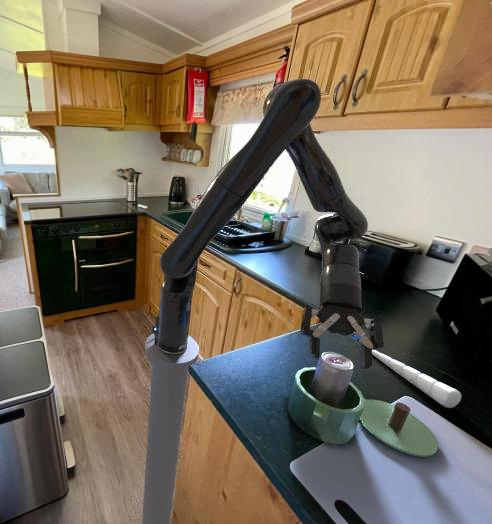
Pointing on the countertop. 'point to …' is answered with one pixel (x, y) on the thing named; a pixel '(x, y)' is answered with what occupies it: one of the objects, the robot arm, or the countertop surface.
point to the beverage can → (331, 379)
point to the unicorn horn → (423, 382)
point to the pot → (324, 411)
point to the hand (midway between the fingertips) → (339, 362)
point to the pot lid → (398, 428)
